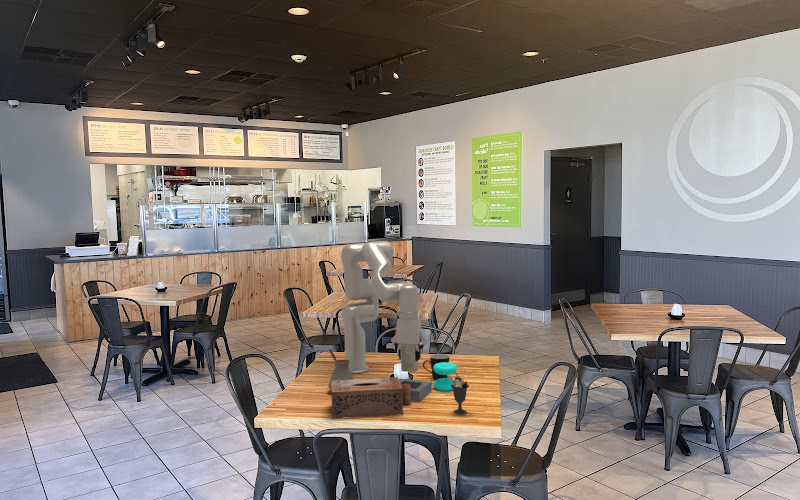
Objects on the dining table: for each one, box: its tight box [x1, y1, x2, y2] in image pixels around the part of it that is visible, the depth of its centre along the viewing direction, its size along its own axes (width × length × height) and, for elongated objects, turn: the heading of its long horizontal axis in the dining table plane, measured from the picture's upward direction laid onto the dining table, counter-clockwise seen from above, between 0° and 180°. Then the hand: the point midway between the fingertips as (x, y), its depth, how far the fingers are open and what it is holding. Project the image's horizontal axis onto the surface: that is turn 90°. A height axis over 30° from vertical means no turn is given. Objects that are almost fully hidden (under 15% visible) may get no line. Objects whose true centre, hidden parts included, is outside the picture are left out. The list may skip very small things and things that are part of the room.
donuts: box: [432, 362, 458, 392], centre depth 247 cm, size 10×10×10 cm
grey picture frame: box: [398, 378, 433, 403], centre depth 239 cm, size 14×14×4 cm
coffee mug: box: [422, 353, 451, 381], centre depth 261 cm, size 12×9×10 cm
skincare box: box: [400, 344, 419, 373], centre depth 238 cm, size 6×4×12 cm
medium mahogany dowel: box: [401, 384, 412, 407], centre depth 227 cm, size 4×4×8 cm
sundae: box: [451, 371, 470, 415], centre depth 217 cm, size 7×7×15 cm
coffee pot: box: [326, 348, 355, 391], centre depth 248 cm, size 21×12×15 cm, turn 26°
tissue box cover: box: [330, 376, 404, 419], centre depth 221 cm, size 26×14×10 cm, turn 97°
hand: (409, 359), depth 238 cm, fingers closed on skincare box, 6 cm apart
